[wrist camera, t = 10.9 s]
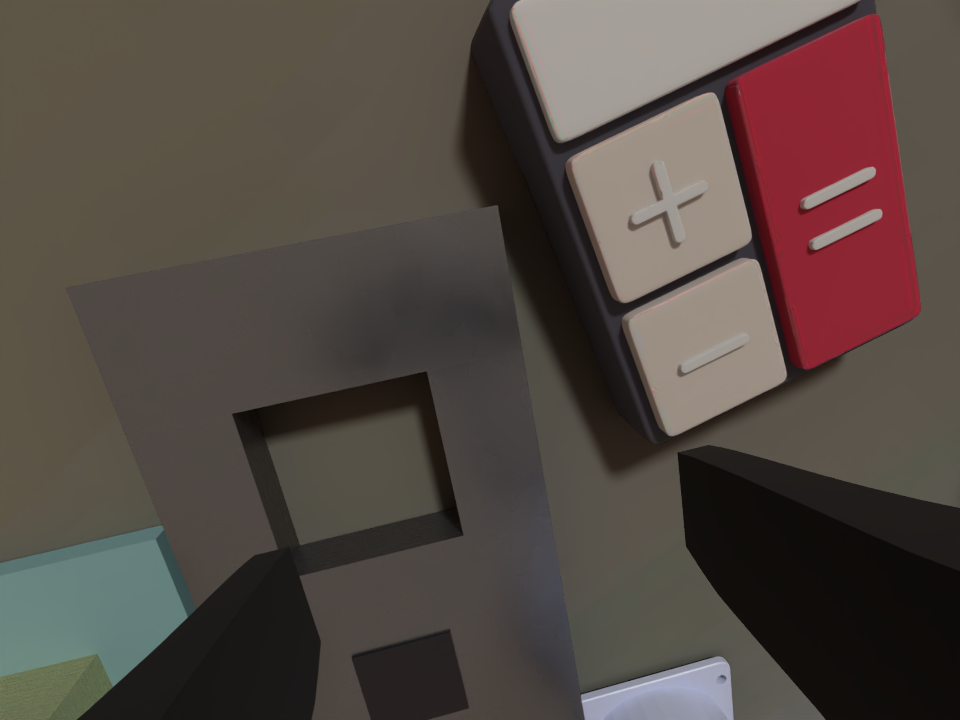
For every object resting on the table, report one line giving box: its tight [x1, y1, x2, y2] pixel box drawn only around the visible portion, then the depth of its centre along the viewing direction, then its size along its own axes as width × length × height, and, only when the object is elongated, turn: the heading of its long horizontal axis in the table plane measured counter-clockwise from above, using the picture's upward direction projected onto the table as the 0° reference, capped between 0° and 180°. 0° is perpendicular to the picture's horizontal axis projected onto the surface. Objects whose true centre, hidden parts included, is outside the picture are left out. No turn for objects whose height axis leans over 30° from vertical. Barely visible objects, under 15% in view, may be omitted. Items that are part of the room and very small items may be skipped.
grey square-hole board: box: [66, 205, 585, 720], centre depth 19 cm, size 22×13×2 cm, turn 11°
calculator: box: [471, 0, 921, 445], centre depth 17 cm, size 11×4×15 cm
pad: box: [0, 525, 196, 687], centre depth 20 cm, size 12×11×1 cm
